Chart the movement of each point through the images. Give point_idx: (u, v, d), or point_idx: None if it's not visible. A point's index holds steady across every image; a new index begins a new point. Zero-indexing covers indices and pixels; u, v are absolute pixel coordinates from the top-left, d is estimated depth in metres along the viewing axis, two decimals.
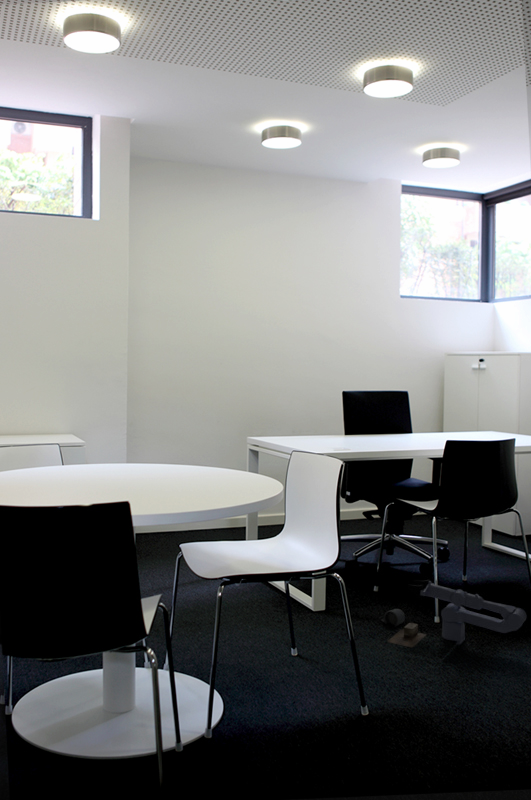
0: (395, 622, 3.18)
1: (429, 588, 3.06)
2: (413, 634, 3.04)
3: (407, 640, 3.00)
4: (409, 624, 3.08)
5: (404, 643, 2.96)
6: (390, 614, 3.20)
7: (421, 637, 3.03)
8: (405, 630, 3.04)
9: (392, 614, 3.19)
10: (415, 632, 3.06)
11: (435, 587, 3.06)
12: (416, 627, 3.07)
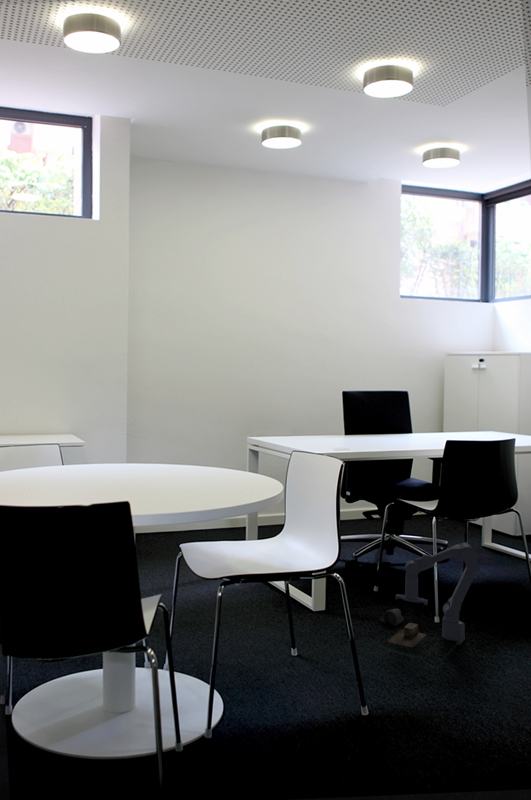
0: (394, 622, 3.19)
1: (415, 598, 3.04)
2: (413, 634, 3.04)
3: (407, 640, 3.00)
4: (409, 624, 3.08)
5: (404, 643, 2.96)
6: (389, 614, 3.20)
7: (421, 637, 3.03)
8: (405, 630, 3.04)
9: (391, 614, 3.20)
10: (415, 632, 3.06)
11: (413, 592, 3.03)
12: (416, 627, 3.07)
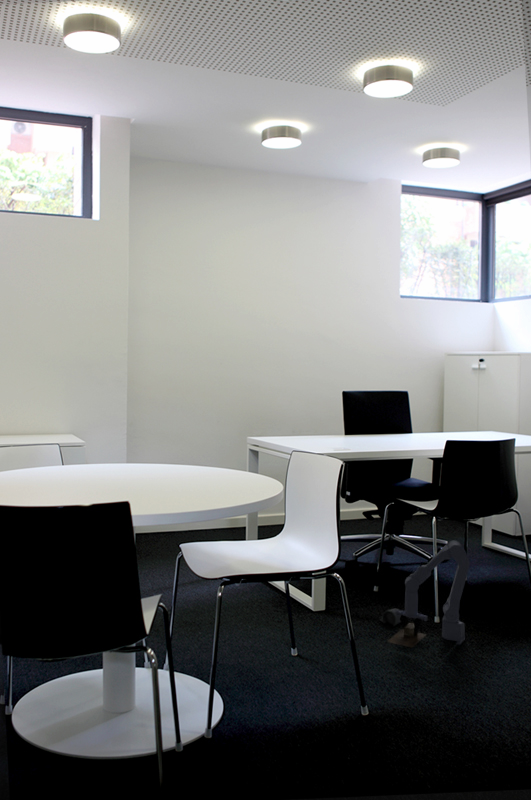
0: (393, 621, 3.19)
1: (415, 614, 3.04)
2: (413, 634, 3.04)
3: (407, 640, 3.00)
4: (409, 624, 3.08)
5: (404, 643, 2.96)
6: (388, 614, 3.21)
7: (421, 637, 3.03)
8: (405, 630, 3.04)
9: (390, 614, 3.20)
10: None
11: (412, 609, 3.03)
12: None
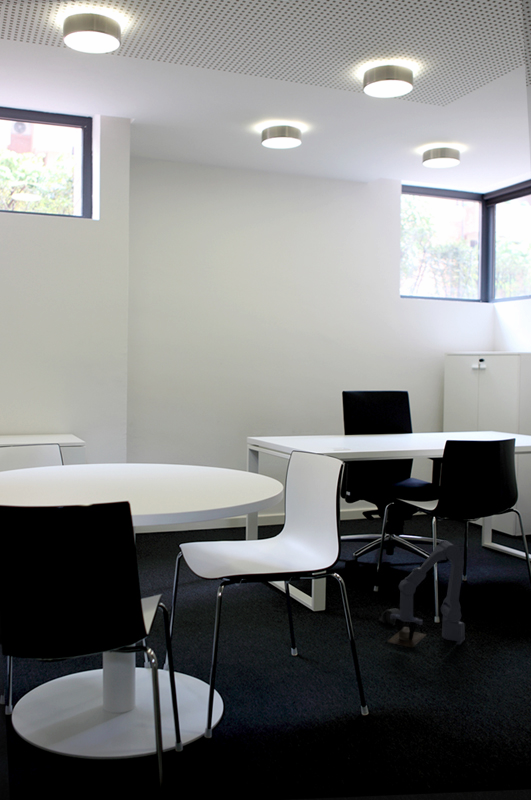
0: (393, 621, 3.19)
1: (410, 618, 2.99)
2: (408, 638, 2.99)
3: None
4: (404, 628, 3.03)
5: (404, 643, 2.96)
6: (388, 613, 3.21)
7: (421, 637, 3.03)
8: (400, 634, 2.99)
9: (390, 613, 3.20)
10: None
11: (408, 612, 2.98)
12: None
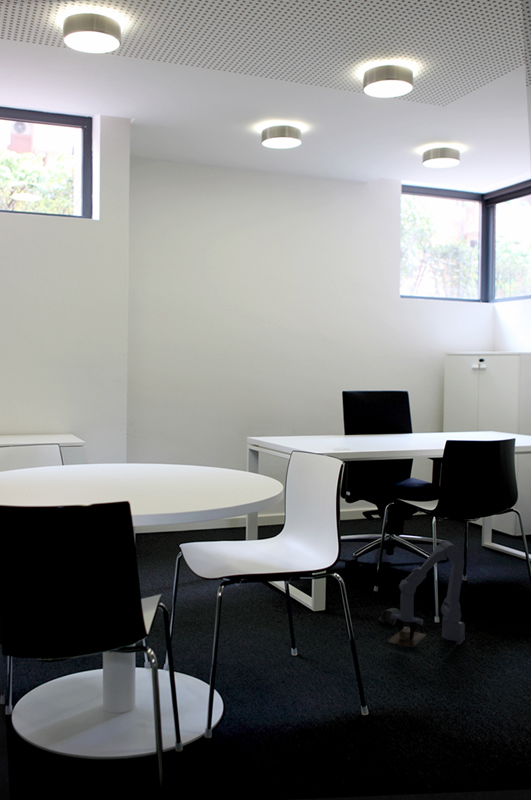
0: (392, 621, 3.20)
1: (410, 617, 2.99)
2: (409, 638, 2.99)
3: None
4: (405, 628, 3.03)
5: (404, 643, 2.96)
6: (387, 613, 3.21)
7: (421, 637, 3.03)
8: (401, 634, 2.99)
9: (389, 613, 3.21)
10: None
11: (408, 612, 2.99)
12: None
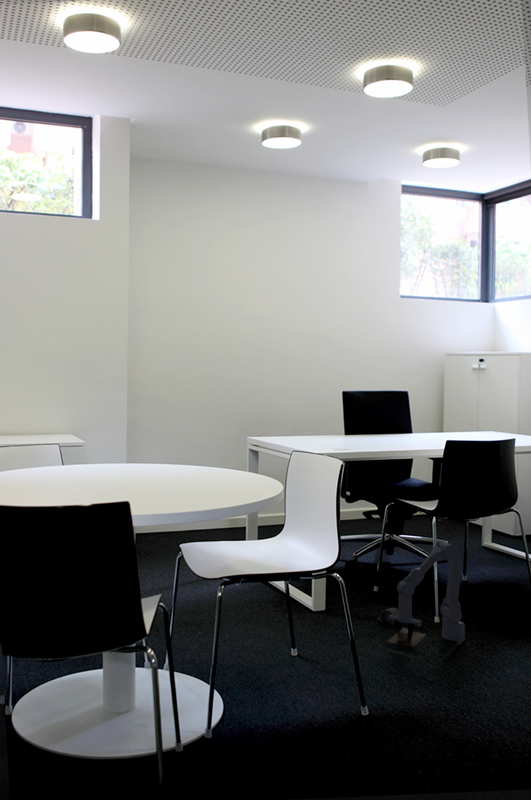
0: (391, 621, 3.20)
1: (409, 619, 2.97)
2: (407, 639, 2.97)
3: None
4: (403, 629, 3.02)
5: (404, 643, 2.96)
6: (386, 613, 3.22)
7: (421, 637, 3.03)
8: (399, 635, 2.98)
9: (388, 613, 3.21)
10: None
11: (406, 613, 2.97)
12: None
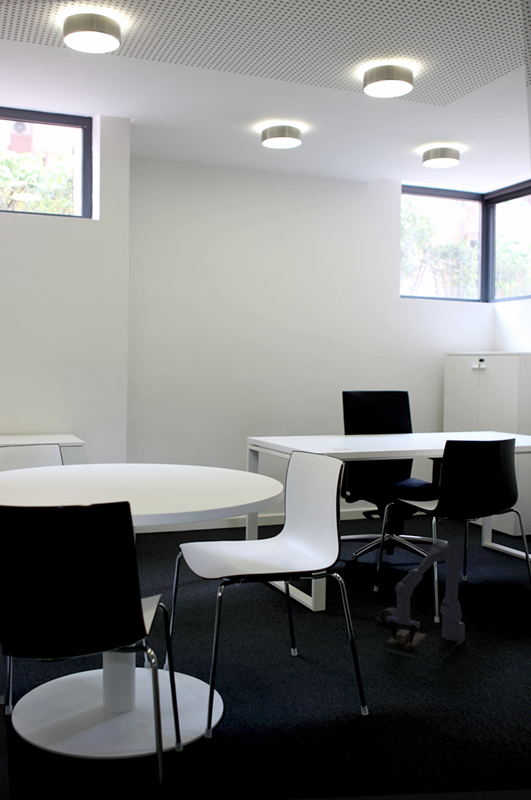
0: None
1: (407, 620, 2.95)
2: (405, 641, 2.95)
3: None
4: (401, 631, 3.00)
5: None
6: (385, 613, 3.22)
7: (421, 637, 3.03)
8: (397, 637, 2.96)
9: (387, 613, 3.21)
10: (407, 639, 2.97)
11: (404, 615, 2.95)
12: (408, 634, 2.98)
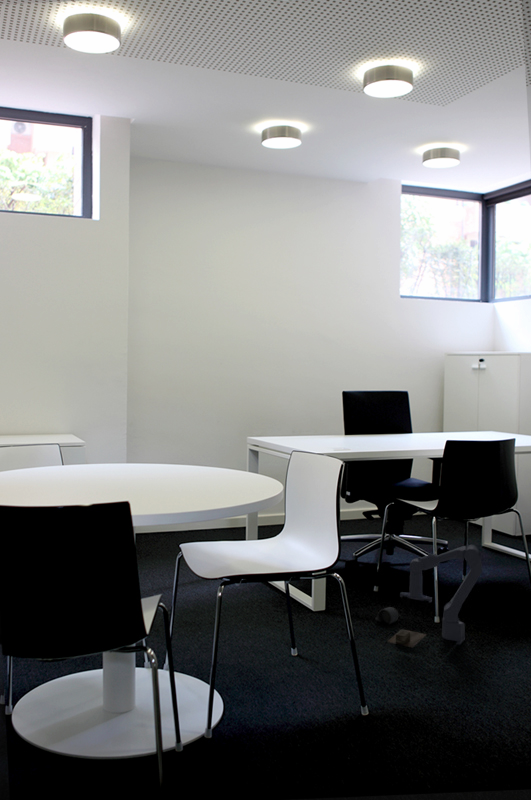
0: (389, 620, 3.21)
1: (419, 595, 3.06)
2: (405, 641, 2.95)
3: None
4: (401, 631, 3.00)
5: None
6: (384, 612, 3.22)
7: (421, 637, 3.03)
8: (397, 637, 2.96)
9: (386, 612, 3.22)
10: (407, 639, 2.97)
11: (417, 590, 3.05)
12: (408, 634, 2.98)
